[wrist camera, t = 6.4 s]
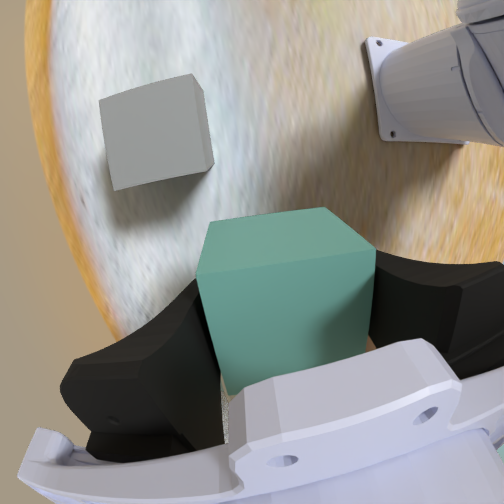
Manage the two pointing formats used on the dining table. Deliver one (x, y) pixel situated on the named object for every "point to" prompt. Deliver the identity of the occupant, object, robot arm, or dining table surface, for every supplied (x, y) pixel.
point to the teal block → (284, 293)
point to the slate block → (156, 132)
